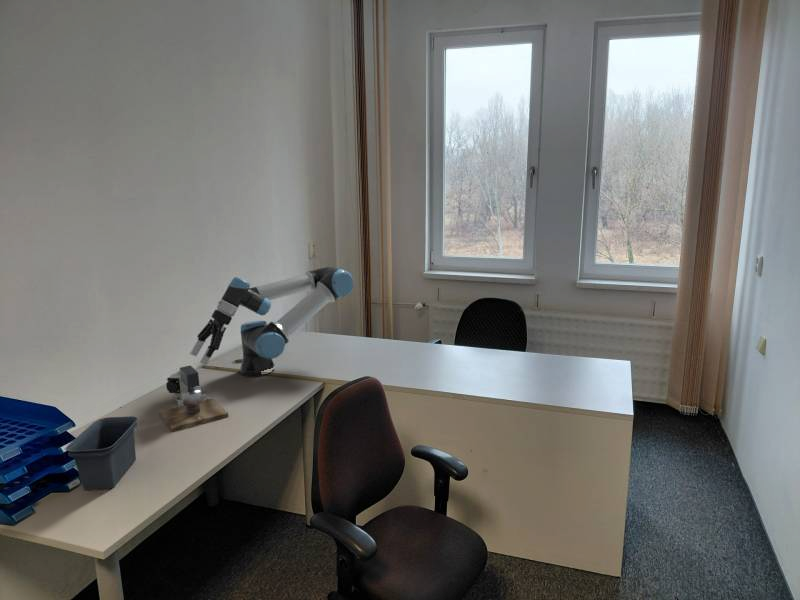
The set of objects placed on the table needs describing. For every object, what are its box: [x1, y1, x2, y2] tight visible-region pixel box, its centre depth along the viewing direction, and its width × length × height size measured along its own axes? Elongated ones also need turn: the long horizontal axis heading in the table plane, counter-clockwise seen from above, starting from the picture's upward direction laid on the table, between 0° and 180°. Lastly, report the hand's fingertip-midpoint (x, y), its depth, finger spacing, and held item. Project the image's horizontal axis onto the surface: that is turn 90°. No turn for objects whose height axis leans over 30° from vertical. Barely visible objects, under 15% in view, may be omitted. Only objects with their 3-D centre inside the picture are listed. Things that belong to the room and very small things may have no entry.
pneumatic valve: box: [165, 370, 187, 402], centre depth 222 cm, size 6×12×12 cm, turn 169°
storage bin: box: [65, 415, 139, 491], centre depth 166 cm, size 21×16×14 cm
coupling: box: [176, 365, 208, 407], centre depth 205 cm, size 10×10×13 cm
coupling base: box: [159, 397, 229, 432], centre depth 207 cm, size 20×18×5 cm
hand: (197, 359), depth 224 cm, fingers open, 13 cm apart
